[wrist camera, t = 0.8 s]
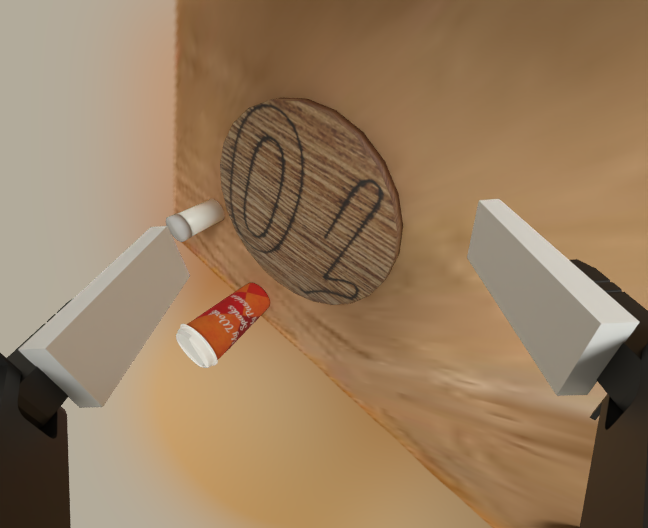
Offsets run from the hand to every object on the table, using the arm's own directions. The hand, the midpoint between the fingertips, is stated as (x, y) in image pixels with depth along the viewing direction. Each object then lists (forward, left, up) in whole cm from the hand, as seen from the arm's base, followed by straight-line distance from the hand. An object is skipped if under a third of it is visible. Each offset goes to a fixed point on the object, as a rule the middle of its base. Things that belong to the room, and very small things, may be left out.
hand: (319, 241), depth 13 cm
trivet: (+10, -14, -17) cm, 24 cm away
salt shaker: (+14, -31, -17) cm, 38 cm away
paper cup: (+29, -25, -17) cm, 42 cm away
